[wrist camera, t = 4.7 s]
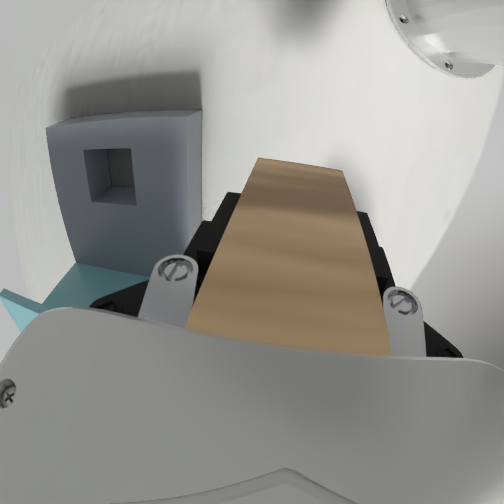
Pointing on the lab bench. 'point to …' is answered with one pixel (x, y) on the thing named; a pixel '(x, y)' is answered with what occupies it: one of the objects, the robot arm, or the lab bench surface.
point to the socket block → (120, 202)
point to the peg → (294, 266)
